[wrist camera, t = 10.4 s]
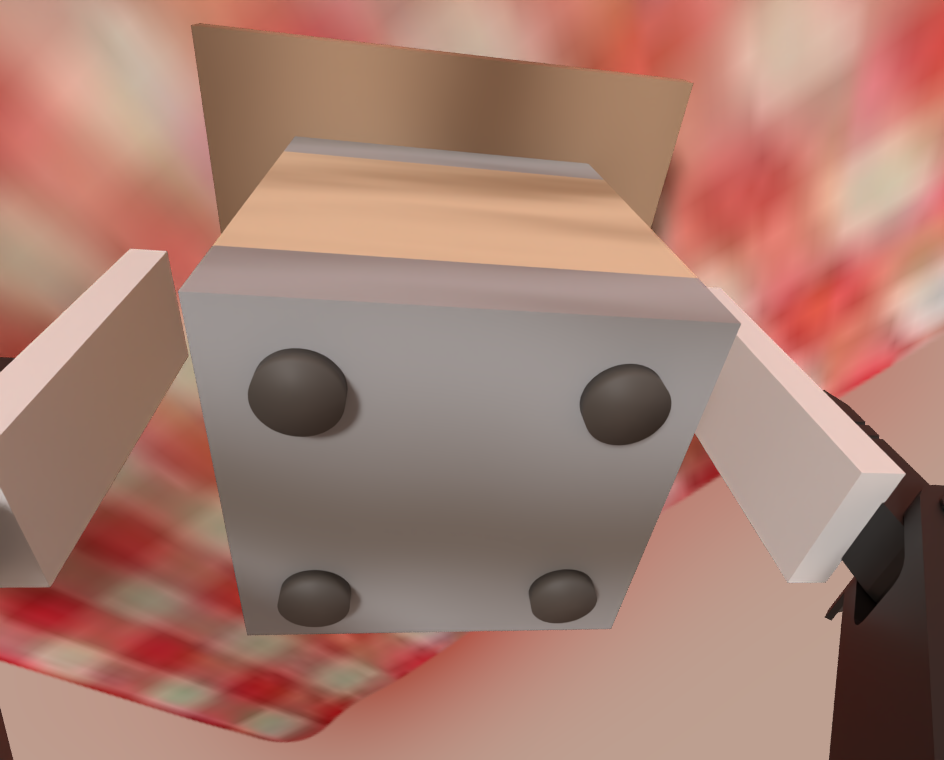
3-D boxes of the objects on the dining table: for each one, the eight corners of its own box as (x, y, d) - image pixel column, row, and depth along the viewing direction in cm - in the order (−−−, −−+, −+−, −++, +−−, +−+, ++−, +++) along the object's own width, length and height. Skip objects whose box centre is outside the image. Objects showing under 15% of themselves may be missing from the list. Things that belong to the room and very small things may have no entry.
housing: (295, 136, 13) (169, 303, 6) (588, 163, 14) (752, 335, 7) (310, 384, 17) (243, 650, 10) (539, 393, 18) (615, 642, 11)
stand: (269, 379, 20) (250, 434, 18) (229, 17, 14) (191, 25, 12) (567, 391, 22) (587, 443, 19) (649, 67, 16) (693, 82, 13)
